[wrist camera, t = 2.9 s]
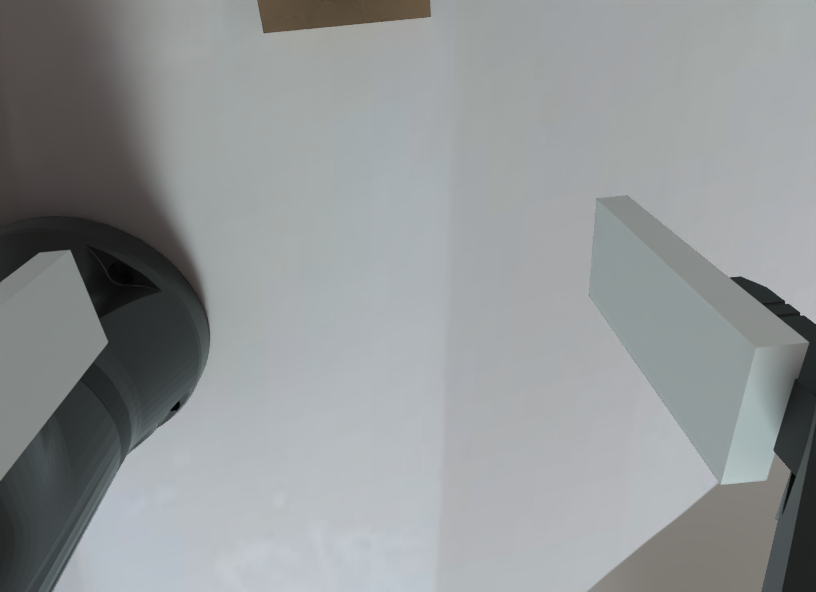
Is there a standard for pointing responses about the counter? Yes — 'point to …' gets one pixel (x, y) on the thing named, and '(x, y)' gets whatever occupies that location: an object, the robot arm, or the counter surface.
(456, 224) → the counter surface
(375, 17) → the mounted unit
